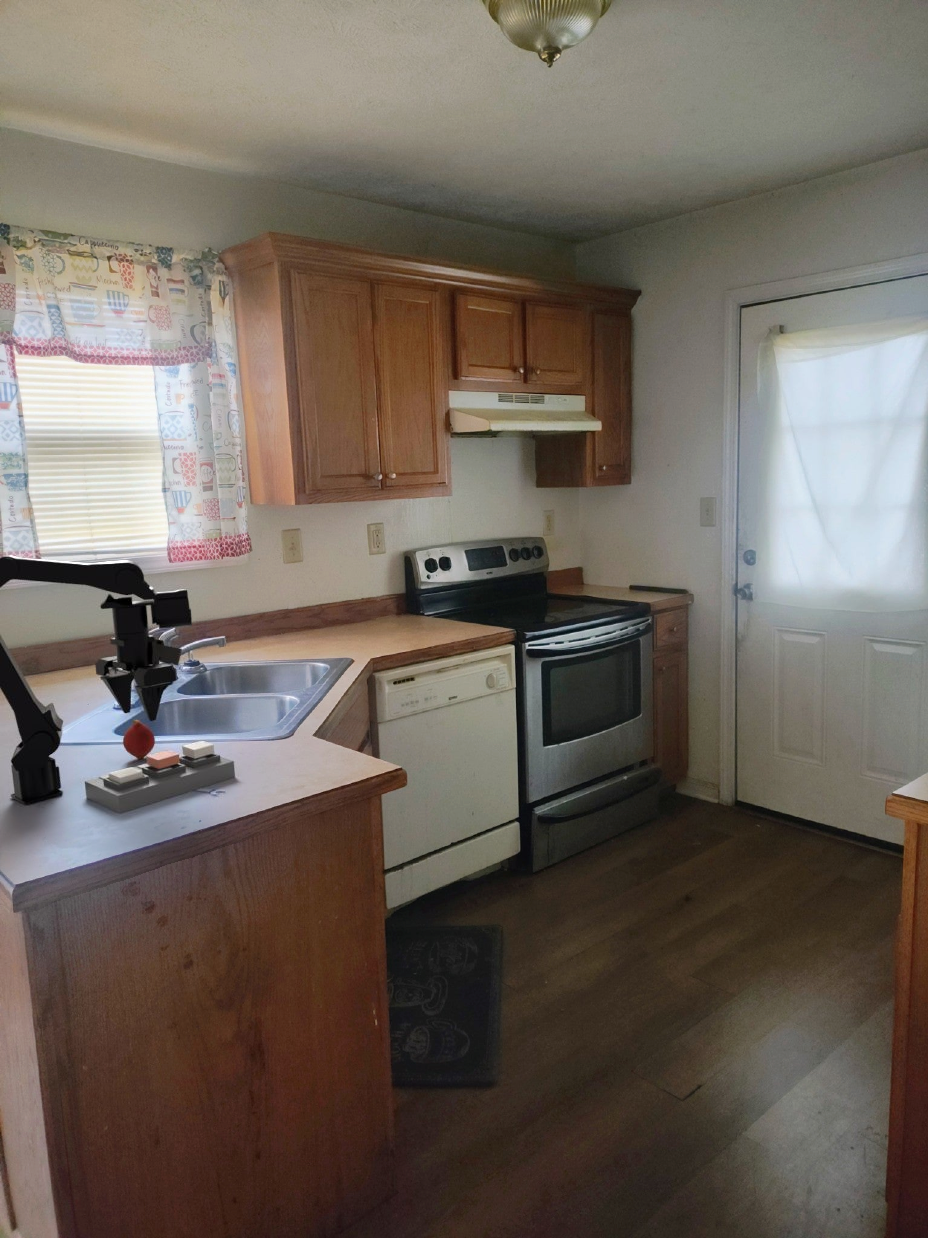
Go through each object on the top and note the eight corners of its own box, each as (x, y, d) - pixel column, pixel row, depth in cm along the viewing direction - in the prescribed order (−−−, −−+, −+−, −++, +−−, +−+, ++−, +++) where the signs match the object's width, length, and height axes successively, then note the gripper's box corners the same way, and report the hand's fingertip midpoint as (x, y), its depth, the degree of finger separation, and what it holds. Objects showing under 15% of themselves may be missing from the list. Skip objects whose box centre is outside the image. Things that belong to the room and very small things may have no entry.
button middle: (158, 769, 149) (157, 760, 149) (147, 764, 152) (146, 755, 151) (179, 763, 152) (178, 754, 152) (167, 758, 154) (167, 750, 154)
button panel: (120, 813, 141) (117, 790, 140) (86, 797, 149) (84, 775, 148) (235, 776, 157) (233, 755, 157) (199, 764, 165) (197, 744, 164)
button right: (194, 758, 154) (194, 750, 154) (182, 754, 157) (182, 746, 156) (214, 753, 157) (213, 744, 157) (202, 749, 160) (201, 740, 159)
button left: (120, 787, 144) (119, 777, 144) (109, 782, 147) (108, 773, 146) (143, 780, 147) (142, 771, 147) (131, 775, 150) (130, 767, 149)
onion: (146, 752, 174) (142, 714, 173) (162, 757, 170) (158, 718, 169) (119, 760, 170) (115, 721, 168) (135, 765, 166) (131, 725, 165)
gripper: (200, 629, 153) (207, 714, 155) (147, 621, 165) (154, 700, 167) (141, 639, 144) (150, 729, 147) (90, 629, 157) (98, 712, 159)
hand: (139, 716), depth 155 cm, fingers open, 9 cm apart
